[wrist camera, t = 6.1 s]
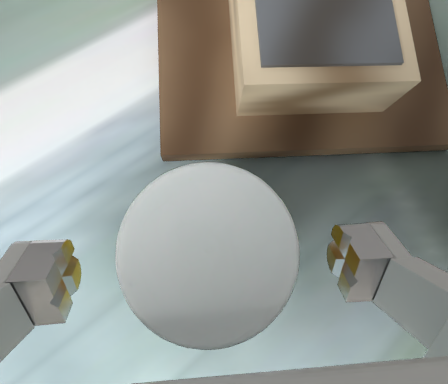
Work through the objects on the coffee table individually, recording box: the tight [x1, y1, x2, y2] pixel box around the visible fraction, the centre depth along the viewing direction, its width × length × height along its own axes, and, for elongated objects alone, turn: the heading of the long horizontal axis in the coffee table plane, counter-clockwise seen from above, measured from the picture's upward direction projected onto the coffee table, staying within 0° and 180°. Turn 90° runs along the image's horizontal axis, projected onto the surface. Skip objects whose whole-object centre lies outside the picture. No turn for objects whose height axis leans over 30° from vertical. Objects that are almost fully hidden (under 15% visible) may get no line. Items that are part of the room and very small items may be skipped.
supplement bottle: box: [115, 162, 299, 350], centre depth 11 cm, size 5×5×10 cm
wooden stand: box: [157, 0, 448, 161], centre depth 16 cm, size 16×12×4 cm
